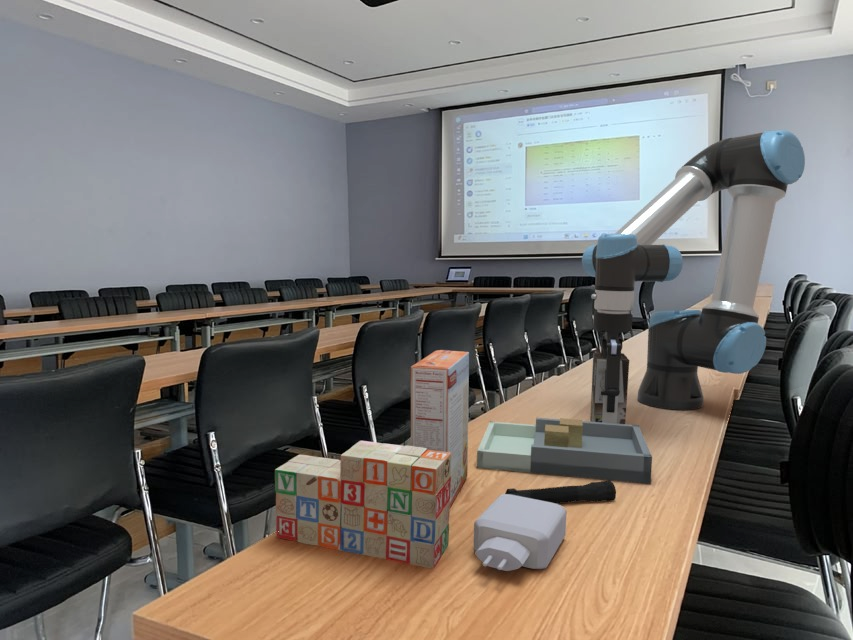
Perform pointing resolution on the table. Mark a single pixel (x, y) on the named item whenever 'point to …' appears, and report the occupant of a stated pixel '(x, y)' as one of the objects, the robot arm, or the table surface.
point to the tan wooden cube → (573, 431)
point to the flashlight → (570, 493)
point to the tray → (506, 447)
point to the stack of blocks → (368, 502)
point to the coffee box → (599, 386)
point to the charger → (519, 533)
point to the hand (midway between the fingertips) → (607, 420)
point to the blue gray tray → (595, 453)
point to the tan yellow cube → (556, 436)
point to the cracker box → (442, 409)
